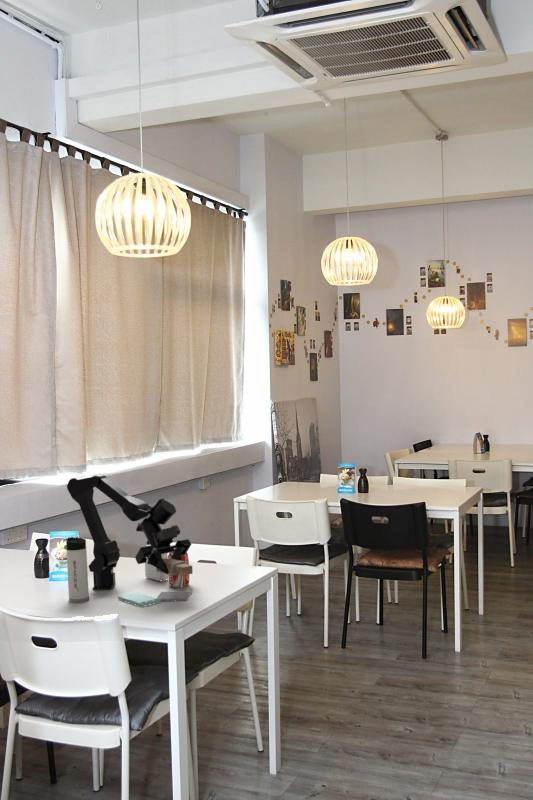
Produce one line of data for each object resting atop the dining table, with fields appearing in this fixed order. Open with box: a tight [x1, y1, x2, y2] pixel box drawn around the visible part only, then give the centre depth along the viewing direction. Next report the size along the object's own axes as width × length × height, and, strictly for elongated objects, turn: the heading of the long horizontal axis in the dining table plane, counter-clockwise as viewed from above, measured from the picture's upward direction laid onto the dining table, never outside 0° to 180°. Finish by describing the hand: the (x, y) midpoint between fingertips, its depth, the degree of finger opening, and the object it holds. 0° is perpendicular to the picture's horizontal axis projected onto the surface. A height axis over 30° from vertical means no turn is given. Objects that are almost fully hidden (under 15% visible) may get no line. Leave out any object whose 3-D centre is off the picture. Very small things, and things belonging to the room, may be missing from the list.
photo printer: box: [144, 544, 169, 582], centre depth 297 cm, size 10×4×12 cm, turn 41°
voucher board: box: [117, 591, 162, 607], centre depth 267 cm, size 14×7×1 cm, turn 41°
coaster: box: [156, 590, 193, 602], centre depth 270 cm, size 10×10×1 cm
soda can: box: [167, 552, 190, 588], centre depth 285 cm, size 7×7×12 cm
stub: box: [157, 558, 193, 576], centre depth 268 cm, size 4×5×14 cm
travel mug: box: [65, 536, 90, 603], centre depth 272 cm, size 6×7×20 cm
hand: (174, 571), depth 269 cm, fingers closed on stub, 5 cm apart
